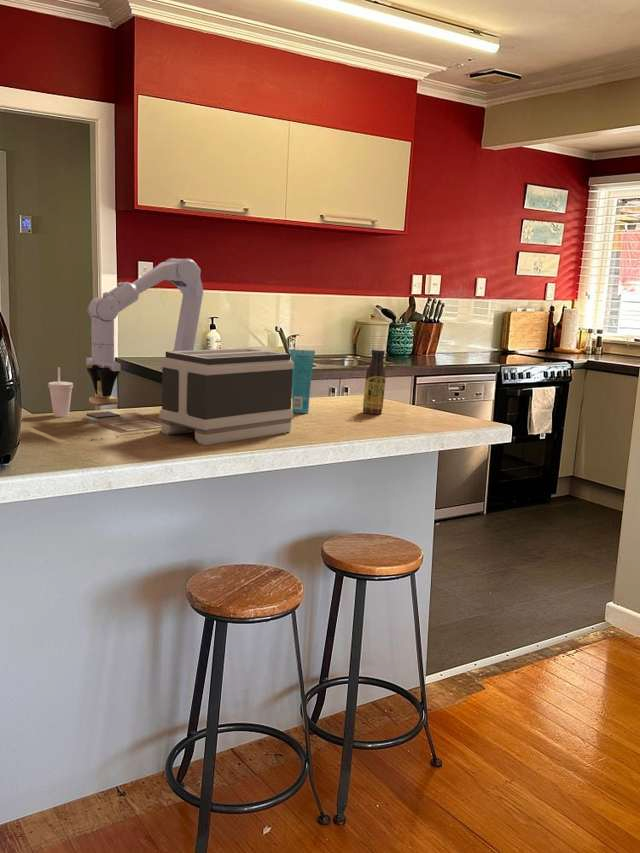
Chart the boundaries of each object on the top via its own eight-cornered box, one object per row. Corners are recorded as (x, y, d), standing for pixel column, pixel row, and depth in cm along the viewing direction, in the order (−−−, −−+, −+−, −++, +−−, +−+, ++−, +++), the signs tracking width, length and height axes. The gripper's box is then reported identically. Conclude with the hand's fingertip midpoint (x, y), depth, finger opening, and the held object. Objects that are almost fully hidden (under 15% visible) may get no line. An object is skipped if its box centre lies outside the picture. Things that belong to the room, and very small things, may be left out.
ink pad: (109, 415, 215) (109, 410, 214) (122, 420, 210) (122, 415, 210) (83, 418, 210) (83, 413, 209) (96, 422, 205) (96, 417, 204)
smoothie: (43, 418, 211) (42, 366, 208) (61, 415, 216) (60, 365, 214) (61, 421, 208) (60, 369, 205) (78, 418, 213) (78, 367, 211)
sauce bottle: (365, 414, 241) (369, 350, 237) (360, 411, 247) (363, 348, 243) (386, 414, 243) (390, 350, 239) (379, 411, 249) (383, 348, 245)
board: (135, 415, 222) (135, 412, 221) (179, 428, 206) (179, 425, 206) (77, 421, 210) (77, 417, 209) (120, 435, 194) (120, 432, 194)
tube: (310, 411, 242) (313, 349, 239) (313, 414, 238) (316, 351, 234) (287, 410, 241) (289, 348, 237) (288, 413, 236) (291, 350, 233)
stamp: (109, 401, 213) (109, 379, 211) (118, 404, 209) (118, 381, 208) (89, 403, 208) (88, 381, 207) (97, 405, 205) (97, 383, 204)
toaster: (303, 431, 212) (307, 353, 208) (204, 447, 187) (205, 359, 183) (257, 420, 224) (260, 346, 220) (158, 433, 199) (159, 351, 195)
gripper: (75, 341, 208) (76, 392, 211) (103, 347, 198) (103, 400, 201) (99, 341, 213) (100, 390, 216) (127, 346, 203) (127, 398, 205)
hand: (103, 395), depth 208 cm, fingers closed on stamp, 3 cm apart
